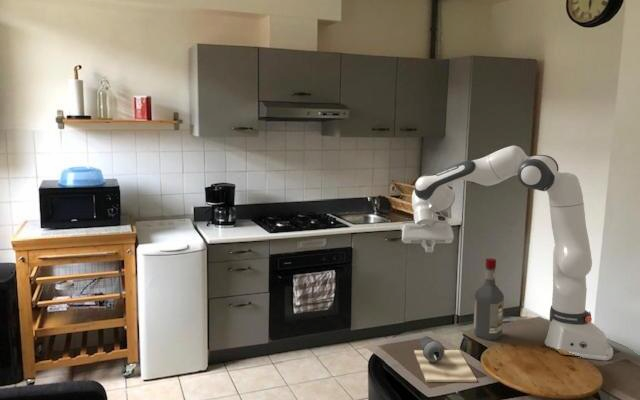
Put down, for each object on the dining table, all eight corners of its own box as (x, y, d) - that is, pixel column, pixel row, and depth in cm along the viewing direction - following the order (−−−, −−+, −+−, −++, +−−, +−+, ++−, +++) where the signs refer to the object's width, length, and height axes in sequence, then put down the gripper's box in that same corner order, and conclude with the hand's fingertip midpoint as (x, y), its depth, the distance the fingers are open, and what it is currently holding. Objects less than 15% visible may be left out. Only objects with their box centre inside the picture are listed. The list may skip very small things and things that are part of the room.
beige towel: (414, 352, 196) (414, 350, 196) (459, 352, 196) (459, 349, 196) (426, 382, 174) (426, 379, 174) (476, 381, 174) (476, 379, 174)
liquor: (470, 335, 210) (474, 259, 206) (481, 328, 217) (485, 255, 212) (493, 342, 204) (497, 264, 200) (503, 334, 211) (507, 259, 206)
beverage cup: (439, 347, 198) (454, 363, 178) (421, 355, 198) (434, 373, 178) (431, 328, 198) (445, 343, 178) (412, 337, 198) (424, 353, 178)
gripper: (400, 217, 219) (403, 247, 210) (451, 217, 219) (457, 247, 211) (398, 226, 224) (401, 255, 216) (448, 226, 224) (453, 255, 216)
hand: (429, 251), depth 213 cm, fingers closed
